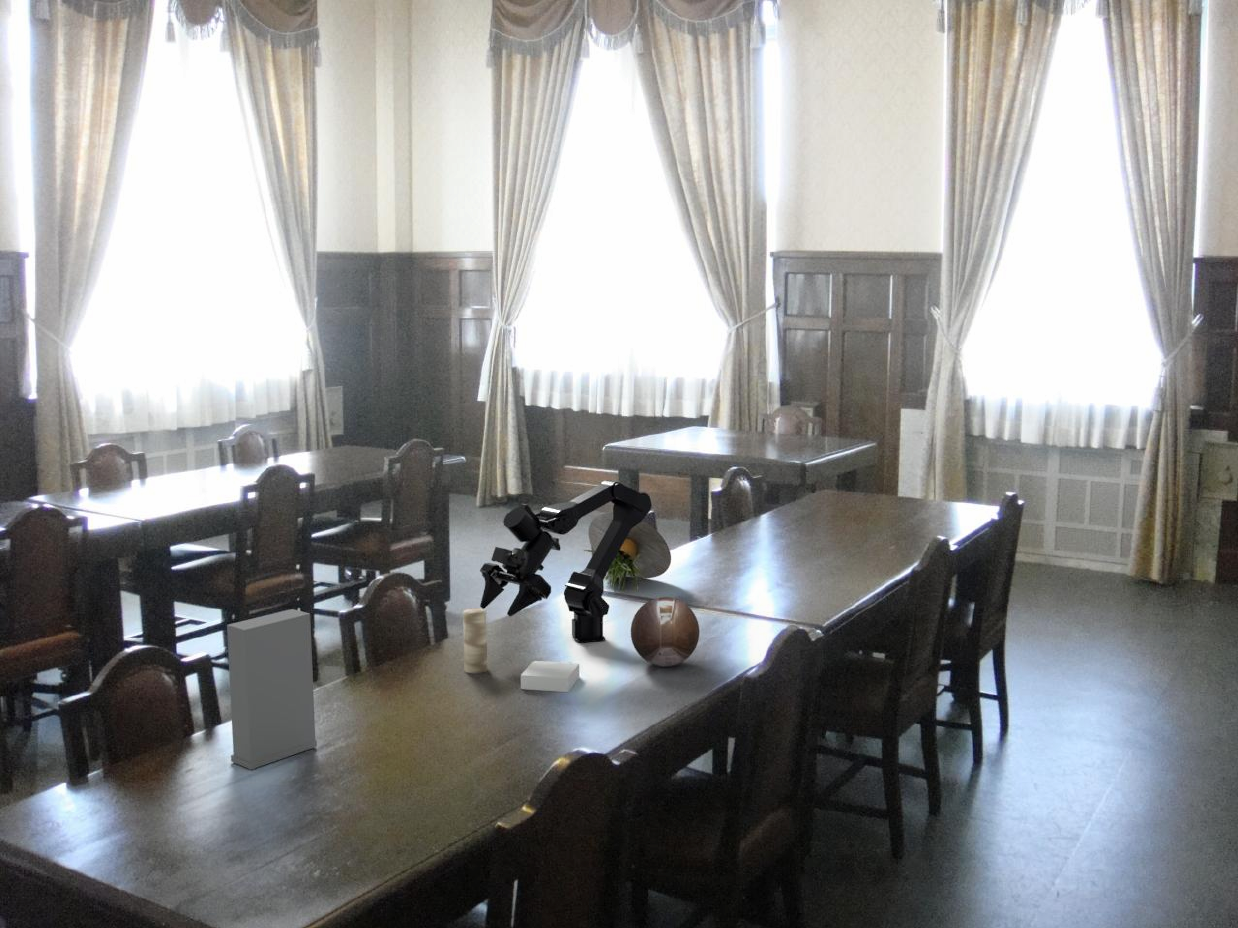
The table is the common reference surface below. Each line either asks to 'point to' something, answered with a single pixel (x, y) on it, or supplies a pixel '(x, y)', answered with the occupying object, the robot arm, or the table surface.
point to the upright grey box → (271, 687)
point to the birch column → (475, 640)
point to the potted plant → (633, 550)
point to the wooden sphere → (665, 631)
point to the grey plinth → (550, 676)
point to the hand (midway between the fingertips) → (494, 611)
